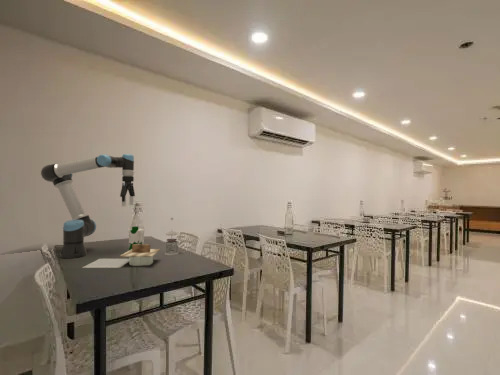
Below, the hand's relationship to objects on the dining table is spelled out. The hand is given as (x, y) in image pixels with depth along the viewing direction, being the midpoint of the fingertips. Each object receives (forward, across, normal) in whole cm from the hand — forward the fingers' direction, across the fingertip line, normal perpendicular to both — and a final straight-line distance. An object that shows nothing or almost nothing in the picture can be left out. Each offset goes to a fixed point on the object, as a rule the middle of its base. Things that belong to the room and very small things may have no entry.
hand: (127, 205), depth 210 cm
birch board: (+27, -33, -21) cm, 48 cm away
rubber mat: (+33, -34, -2) cm, 47 cm away
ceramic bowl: (+33, -33, -21) cm, 51 cm away
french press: (+33, -6, -34) cm, 48 cm away
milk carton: (+33, -15, -12) cm, 38 cm away
